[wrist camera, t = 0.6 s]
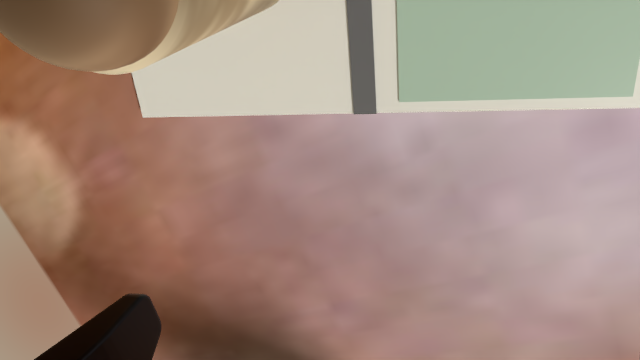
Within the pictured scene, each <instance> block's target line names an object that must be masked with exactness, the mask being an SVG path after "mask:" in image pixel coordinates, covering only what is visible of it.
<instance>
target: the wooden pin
mask: <svg viewBox="0 0 640 360" xmlns="http://www.w3.org/2000/svg"><path fill="white" fill-rule="evenodd" d="M278 1H279V0H0V32H1V33H2V34H3V35H4V36H5V37H6V38H7V39H8V40H10V41H11V42H12V43H13V44H15V45H16V46H18V47H19V48H20V49H22V50H23V51H25V52H27V53H28V54H30V55H32V56H34V57H36V58H38V59H40V60H42V61H44V62H47V63H49V64H52V65H55V66H58V67H62V68H66V69H71V70H79V71H91V72H95V73H101V74H125V73H131V72H134V71H137V70H140V69H143V68H145V67H147V66H149V65H151V64H153V63H155V62H157V61H159V60H161V59H163V58H166V57H168V56H170V55H172V54H174V53H176V52H178V51H180V50H182V49H184V48H186V47H188V46H191V45H193V44H195V43H197V42H199V41H201V40H203V39H205V38H207V37H209V36H211V35H214V34H216V33H218V32H220V31H222V30H224V29H226V28H228V27H230V26H232V25H234V24H236V23H239V22H241V21H243V20H245V19H247V18H249V17H251V16H253V15H255V14H257V13H259V12H262V11H264V10H266V9H268V8H269V7H271V6H273V5H274V4H275V3H277V2H278Z"/></svg>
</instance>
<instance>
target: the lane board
mask: <svg viewBox="0 0 640 360" xmlns="http://www.w3.org/2000/svg"><path fill="white" fill-rule="evenodd" d="M132 76H133V80H134V84H135V88H136V92H137V96H138V100H139V104H140V108H141V112H142V116H143V117H194V116H246V115H298V114H350V113H354V114H376V113H402V112H454V111H506V110H558V109H610V108H640V0H279V1H278V2H277V3H275V4H274V5H273V6H271V7H269V8H268V9H266V10H264V11H262V12H259V13H257V14H255V15H253V16H251V17H249V18H247V19H245V20H243V21H241V22H239V23H236V24H234V25H232V26H230V27H228V28H226V29H224V30H222V31H220V32H218V33H216V34H214V35H211V36H209V37H207V38H205V39H203V40H201V41H199V42H197V43H195V44H193V45H191V46H188V47H186V48H184V49H182V50H180V51H178V52H176V53H174V54H172V55H170V56H168V57H166V58H163V59H161V60H159V61H157V62H155V63H153V64H151V65H149V66H147V67H145V68H143V69H140V70H137V71H134V72H132Z"/></svg>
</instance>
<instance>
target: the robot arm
mask: <svg viewBox="0 0 640 360" xmlns="http://www.w3.org/2000/svg"><path fill="white" fill-rule="evenodd" d="M160 333H161V321H160V318H159V316H158V314H157V312H156V310H155V308H154V306H153V303H152V301H151V299H150V298H149V296H147V295H145V294H127V295H125V296H123V297H122V298H120V299H119V300H117V301H116V302H115V303H113V304H112V305H110V306H109V307H108V308H106V309H105V310H103V311H102V312H101V313H99V314H98V315H96V316H95V317H93V318H92V319H91V320H89V321H88V322H86V323H85V324H84V325H82V326H81V327H79V328H78V329H77V330H75V331H74V332H72V333H71V334H70V335H68V336H67V337H65V338H64V339H62V340H61V341H60V342H58V343H57V344H56V345H54V346H52V347H51V348H50V349H48V350H47V351H45V352H44V353H43V354H41V355H40V356H38V357H37V358H36V359H34V360H152V358H153V355H154V352H155V349H156V346H157V343H158V340H159V337H160Z"/></svg>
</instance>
